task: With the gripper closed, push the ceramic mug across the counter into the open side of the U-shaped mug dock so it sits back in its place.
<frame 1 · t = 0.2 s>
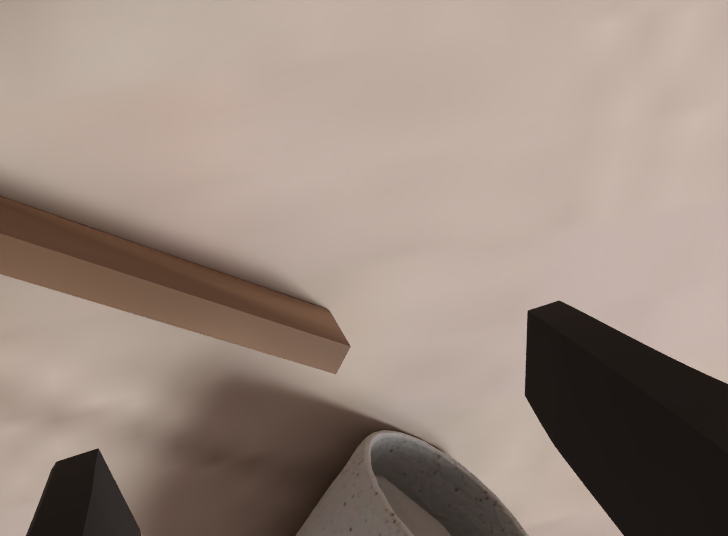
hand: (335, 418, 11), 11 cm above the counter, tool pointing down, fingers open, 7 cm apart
ceramic mug: (386, 513, 27), on the counter
mug dock: (79, 457, 22), on the counter
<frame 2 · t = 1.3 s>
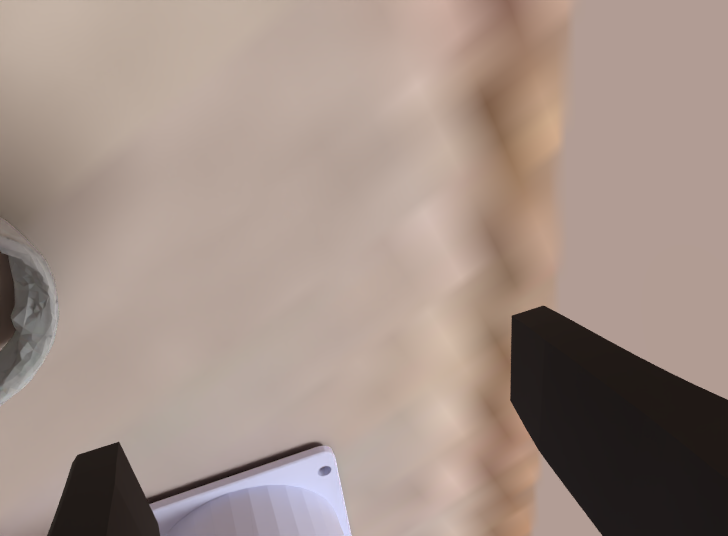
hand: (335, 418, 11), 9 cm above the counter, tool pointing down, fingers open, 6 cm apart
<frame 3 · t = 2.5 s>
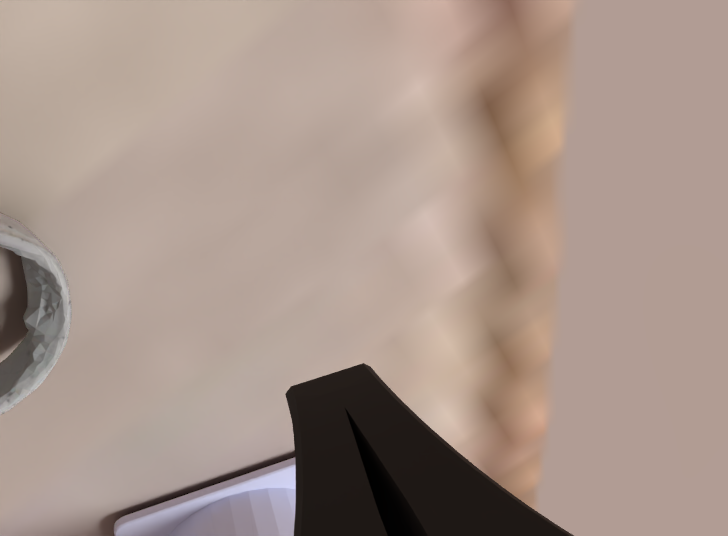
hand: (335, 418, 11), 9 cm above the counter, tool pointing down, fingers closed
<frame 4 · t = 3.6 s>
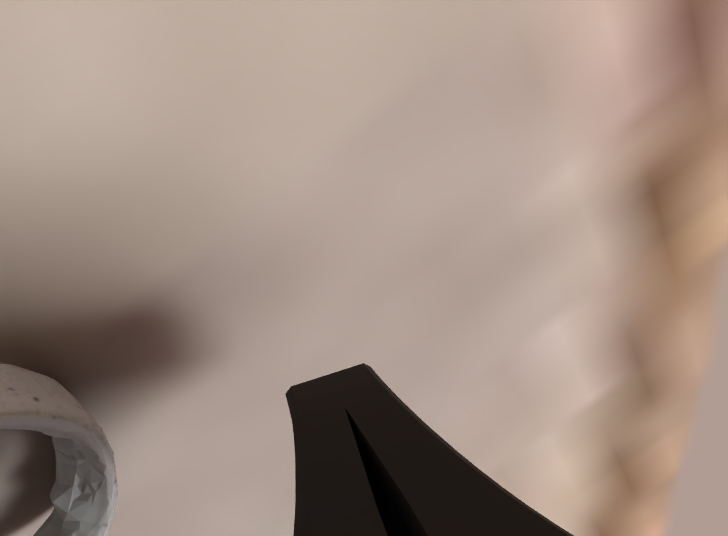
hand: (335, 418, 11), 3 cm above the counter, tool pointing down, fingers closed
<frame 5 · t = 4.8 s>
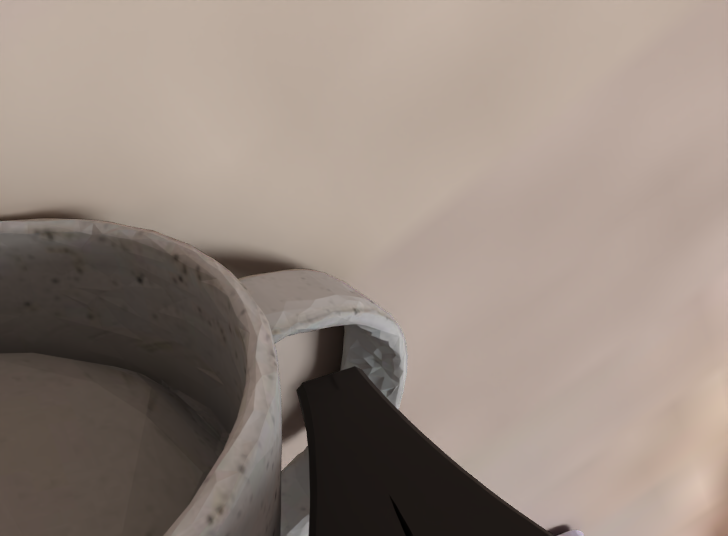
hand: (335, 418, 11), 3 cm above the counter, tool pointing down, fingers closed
ceramic mug: (110, 371, 13), on the counter, touching gripper
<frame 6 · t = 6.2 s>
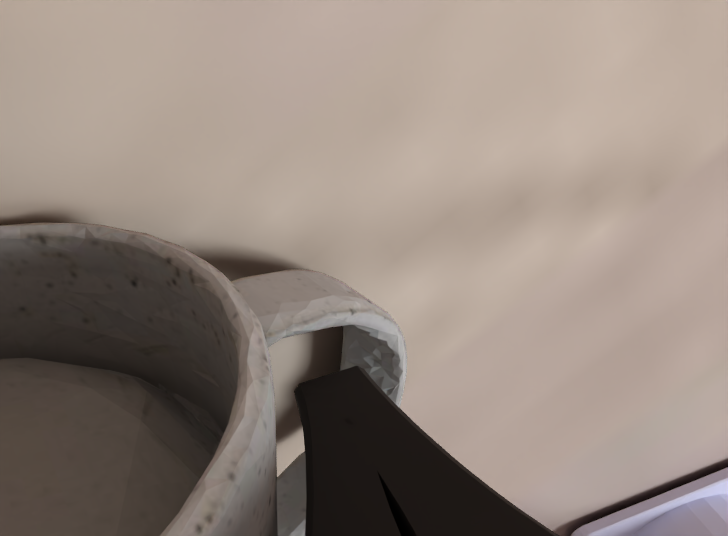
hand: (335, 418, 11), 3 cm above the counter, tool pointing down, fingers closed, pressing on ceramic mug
ceramic mug: (109, 374, 13), on the counter, touching gripper
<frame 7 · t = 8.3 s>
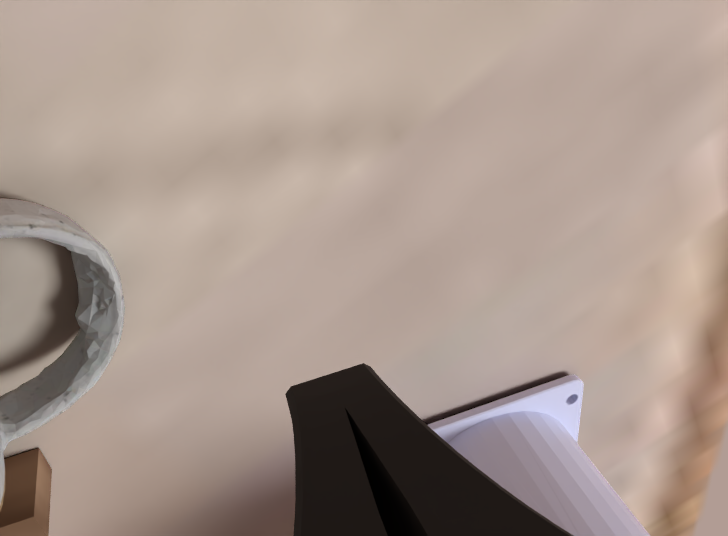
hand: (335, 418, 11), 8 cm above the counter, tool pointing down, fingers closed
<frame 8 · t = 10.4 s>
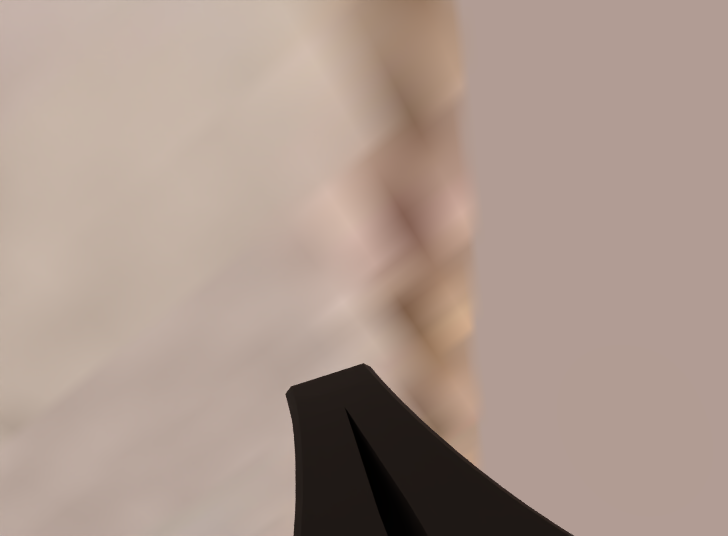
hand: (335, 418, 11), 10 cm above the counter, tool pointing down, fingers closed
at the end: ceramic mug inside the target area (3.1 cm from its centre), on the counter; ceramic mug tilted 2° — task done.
